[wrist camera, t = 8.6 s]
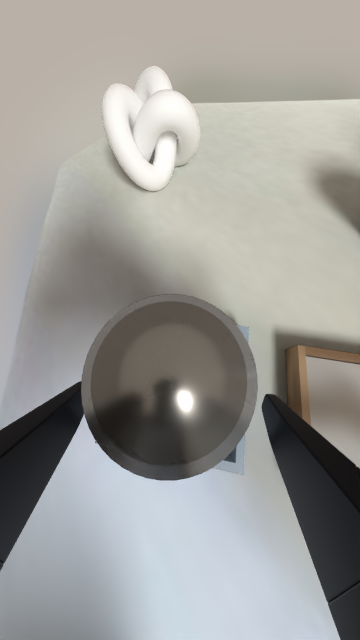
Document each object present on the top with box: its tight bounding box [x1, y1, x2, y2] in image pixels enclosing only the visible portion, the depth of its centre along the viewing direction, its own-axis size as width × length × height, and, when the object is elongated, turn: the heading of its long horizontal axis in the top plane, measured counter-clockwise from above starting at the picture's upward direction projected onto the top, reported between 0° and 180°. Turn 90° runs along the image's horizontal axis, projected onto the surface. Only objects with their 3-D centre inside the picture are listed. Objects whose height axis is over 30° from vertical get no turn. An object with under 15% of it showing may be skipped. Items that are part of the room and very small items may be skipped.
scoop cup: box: [81, 294, 258, 480], centre depth 10 cm, size 5×5×12 cm
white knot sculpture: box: [102, 66, 200, 191], centre depth 23 cm, size 11×12×9 cm
